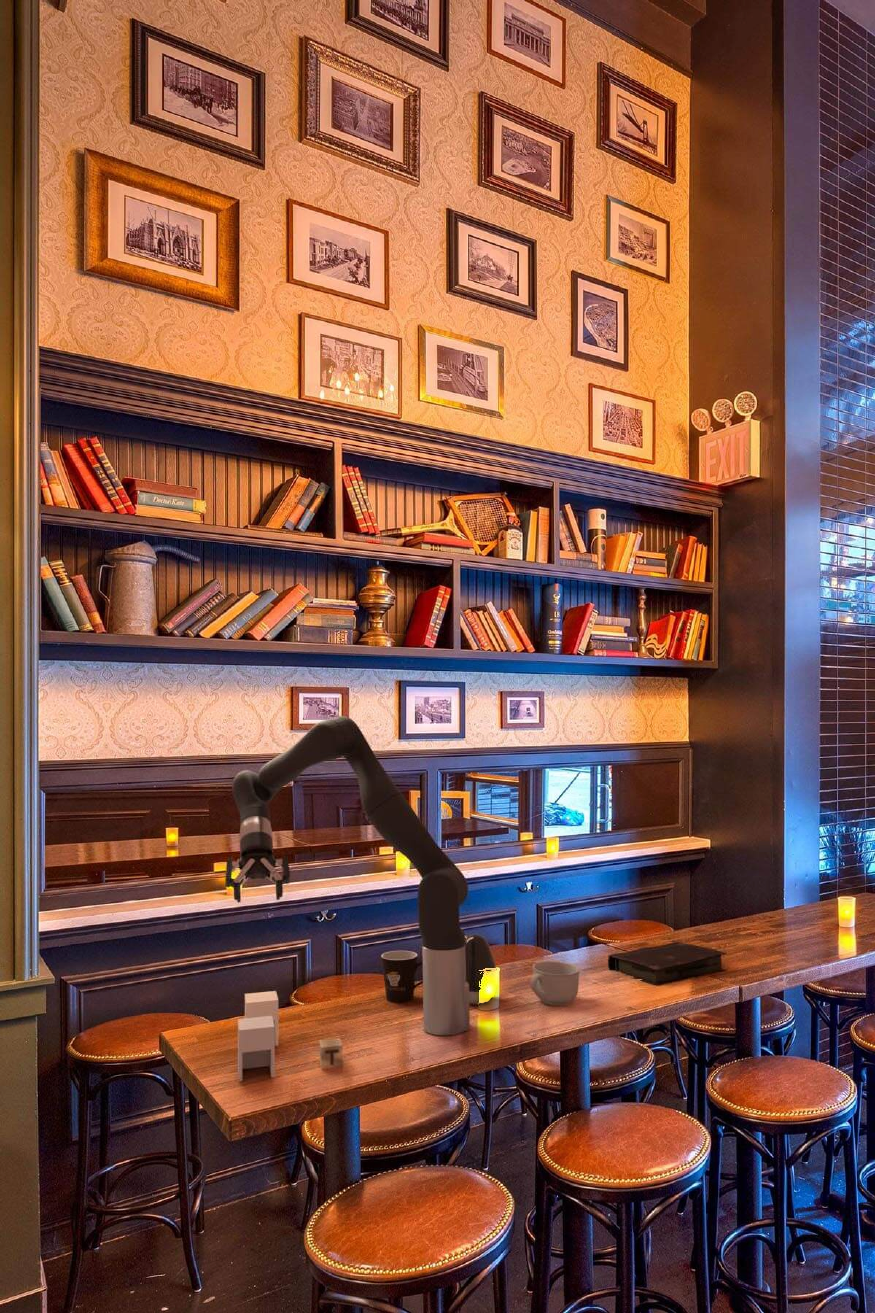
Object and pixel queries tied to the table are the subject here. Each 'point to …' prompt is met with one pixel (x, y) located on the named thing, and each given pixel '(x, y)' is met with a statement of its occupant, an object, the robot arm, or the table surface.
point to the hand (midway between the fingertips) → (258, 899)
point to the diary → (667, 963)
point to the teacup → (555, 982)
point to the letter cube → (330, 1053)
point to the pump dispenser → (476, 963)
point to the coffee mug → (400, 975)
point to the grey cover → (256, 1044)
